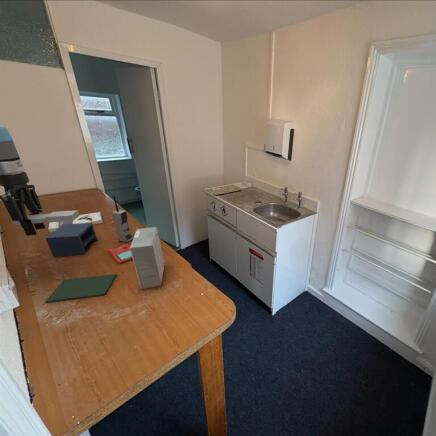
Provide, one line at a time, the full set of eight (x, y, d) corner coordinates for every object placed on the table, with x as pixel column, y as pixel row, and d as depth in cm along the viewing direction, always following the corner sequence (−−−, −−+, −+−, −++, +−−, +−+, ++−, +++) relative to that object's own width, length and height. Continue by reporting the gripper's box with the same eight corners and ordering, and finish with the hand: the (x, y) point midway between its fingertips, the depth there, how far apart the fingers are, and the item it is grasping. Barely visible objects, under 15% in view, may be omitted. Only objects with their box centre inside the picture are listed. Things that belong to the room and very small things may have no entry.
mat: (45, 303, 83) (45, 301, 83) (64, 281, 93) (63, 279, 93) (105, 295, 88) (104, 293, 88) (116, 275, 99) (116, 273, 98)
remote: (13, 225, 85) (10, 219, 84) (22, 219, 89) (20, 213, 88) (73, 220, 90) (71, 215, 89) (79, 215, 95) (77, 210, 94)
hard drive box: (145, 267, 105) (137, 228, 97) (164, 264, 108) (157, 226, 99) (140, 290, 92) (129, 247, 84) (161, 286, 95) (153, 244, 86)
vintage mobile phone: (127, 242, 122) (116, 197, 111) (119, 241, 122) (107, 196, 112) (133, 239, 125) (122, 195, 115) (125, 237, 126) (113, 194, 115)
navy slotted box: (53, 256, 107) (45, 238, 103) (69, 241, 119) (62, 224, 115) (84, 254, 110) (78, 235, 106) (97, 239, 122) (92, 222, 118)
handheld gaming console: (128, 242, 120) (140, 254, 111) (128, 244, 120) (141, 256, 112) (107, 249, 113) (118, 262, 105) (107, 251, 113) (119, 264, 105)
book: (49, 232, 125) (48, 229, 124) (51, 222, 135) (50, 219, 134) (103, 222, 139) (102, 219, 138) (101, 214, 148) (100, 211, 148)
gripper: (4, 179, 74) (33, 242, 84) (39, 166, 89) (60, 221, 99) (-28, 179, 72) (6, 244, 81) (14, 166, 87) (38, 222, 97)
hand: (36, 231), depth 90 cm, fingers closed on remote, 5 cm apart
